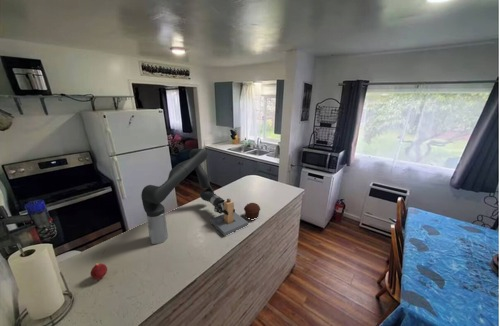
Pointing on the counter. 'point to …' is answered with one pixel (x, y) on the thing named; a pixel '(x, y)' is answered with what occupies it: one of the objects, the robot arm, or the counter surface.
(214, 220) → the socket
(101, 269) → the onion
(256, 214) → the muffin
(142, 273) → the counter surface
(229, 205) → the plug
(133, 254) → the counter surface
